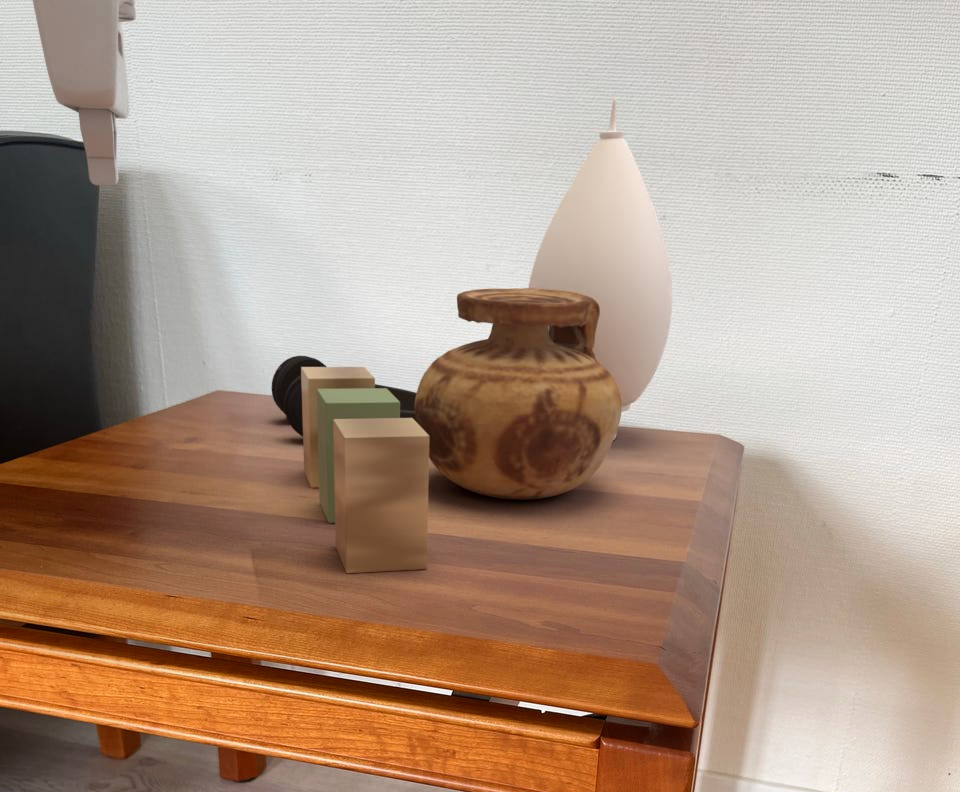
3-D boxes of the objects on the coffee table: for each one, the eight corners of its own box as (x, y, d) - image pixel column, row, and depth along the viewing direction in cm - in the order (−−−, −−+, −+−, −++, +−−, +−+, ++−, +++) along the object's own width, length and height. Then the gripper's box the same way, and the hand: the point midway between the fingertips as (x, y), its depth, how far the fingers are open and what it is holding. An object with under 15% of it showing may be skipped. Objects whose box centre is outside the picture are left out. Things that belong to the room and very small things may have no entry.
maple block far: (311, 487, 94) (307, 378, 90) (304, 471, 100) (300, 366, 96) (375, 485, 96) (375, 377, 92) (365, 469, 101) (364, 366, 97)
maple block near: (346, 573, 74) (344, 437, 70) (335, 547, 80) (333, 418, 76) (427, 569, 76) (429, 435, 72) (410, 543, 81) (412, 417, 77)
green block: (328, 523, 85) (325, 402, 81) (319, 503, 90) (316, 388, 86) (399, 520, 86) (400, 401, 82) (386, 500, 92) (386, 388, 88)
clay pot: (538, 501, 82) (479, 251, 80) (401, 532, 97) (347, 321, 94) (678, 464, 95) (631, 246, 92) (538, 497, 109) (494, 309, 106)
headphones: (271, 346, 119) (434, 372, 126) (264, 410, 122) (424, 431, 129) (293, 371, 104) (475, 398, 112) (284, 443, 107) (463, 464, 114)
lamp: (677, 451, 114) (721, 97, 99) (541, 454, 110) (565, 86, 96) (627, 421, 128) (658, 106, 113) (504, 422, 124) (521, 97, 110)
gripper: (48, -23, 76) (72, 181, 82) (6, -80, 58) (40, 186, 64) (137, -16, 77) (154, 184, 83) (123, -69, 59) (146, 190, 65)
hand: (104, 185), depth 73 cm, fingers closed
